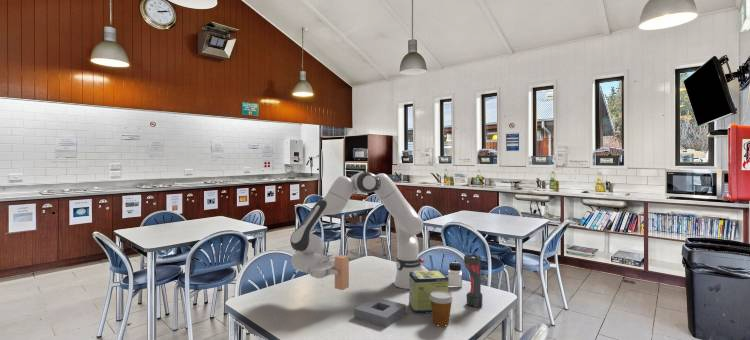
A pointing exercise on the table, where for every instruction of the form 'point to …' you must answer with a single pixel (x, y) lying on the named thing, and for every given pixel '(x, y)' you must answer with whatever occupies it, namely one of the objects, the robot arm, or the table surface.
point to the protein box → (425, 289)
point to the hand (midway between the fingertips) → (343, 270)
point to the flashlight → (474, 279)
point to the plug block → (342, 272)
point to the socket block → (380, 311)
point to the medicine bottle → (455, 274)
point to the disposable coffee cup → (441, 307)
